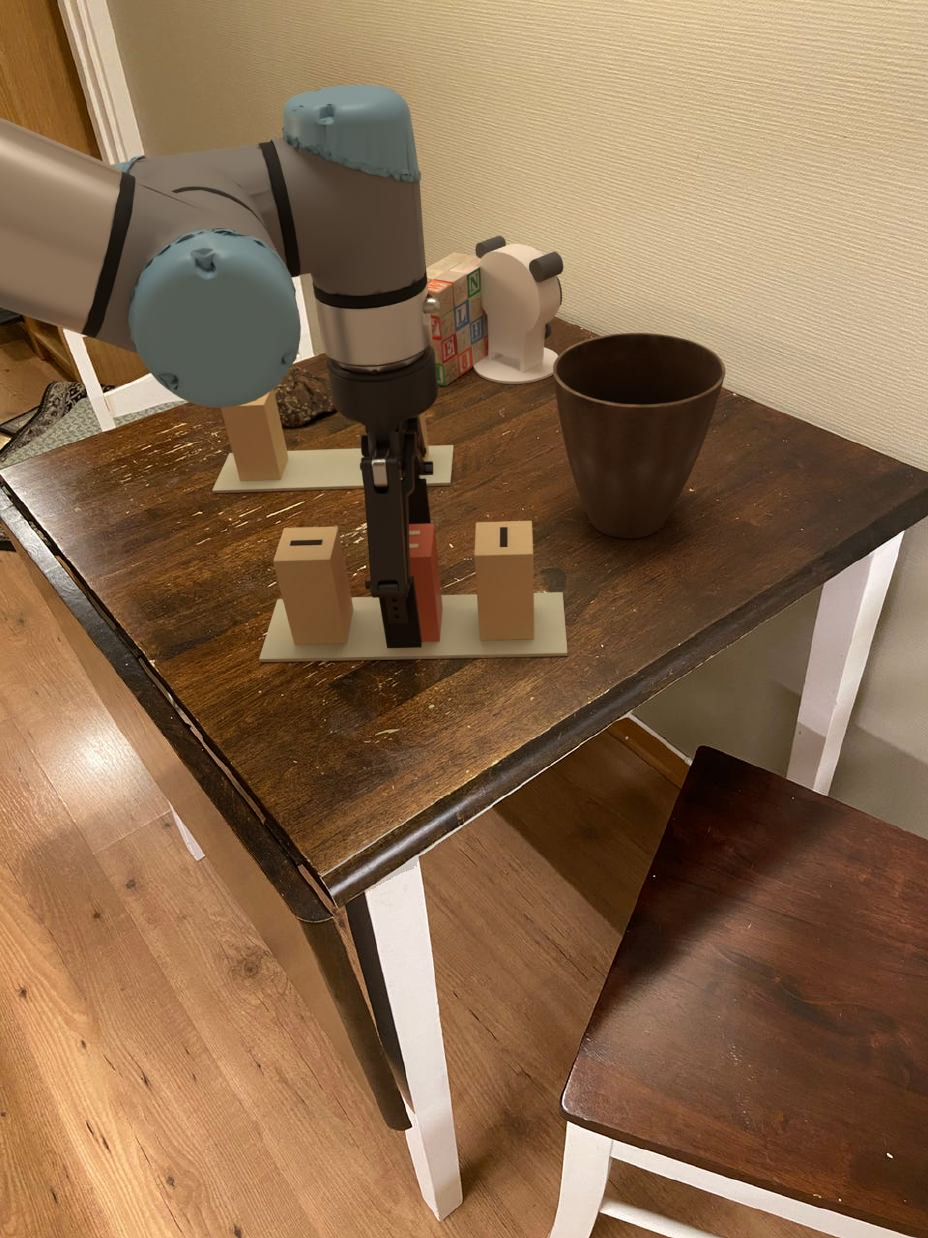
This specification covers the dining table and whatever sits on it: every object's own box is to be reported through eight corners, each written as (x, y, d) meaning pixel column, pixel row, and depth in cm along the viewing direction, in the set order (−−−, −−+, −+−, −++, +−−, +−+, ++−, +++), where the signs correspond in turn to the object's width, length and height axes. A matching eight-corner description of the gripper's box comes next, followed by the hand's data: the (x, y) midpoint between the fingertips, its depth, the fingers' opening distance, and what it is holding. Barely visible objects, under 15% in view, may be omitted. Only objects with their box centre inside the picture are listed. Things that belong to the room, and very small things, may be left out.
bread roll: (220, 414, 110) (210, 376, 107) (289, 375, 117) (282, 339, 114) (294, 439, 104) (285, 400, 101) (362, 396, 111) (356, 359, 108)
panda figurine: (581, 363, 115) (585, 244, 105) (520, 393, 109) (518, 271, 100) (516, 339, 122) (514, 225, 112) (456, 366, 116) (447, 249, 107)
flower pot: (586, 466, 96) (590, 322, 85) (722, 495, 90) (745, 344, 79) (527, 540, 86) (524, 387, 75) (676, 578, 80) (695, 418, 70)
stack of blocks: (495, 318, 128) (492, 230, 120) (532, 326, 125) (531, 235, 117) (406, 377, 115) (395, 282, 107) (445, 387, 112) (437, 290, 104)
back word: (212, 493, 96) (189, 414, 90) (230, 455, 102) (209, 379, 96) (450, 485, 94) (443, 404, 88) (453, 447, 100) (447, 369, 94)
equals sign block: (386, 642, 75) (372, 557, 69) (391, 608, 79) (378, 523, 73) (439, 641, 75) (430, 555, 69) (442, 606, 78) (434, 522, 72)
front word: (259, 662, 75) (234, 574, 69) (278, 602, 81) (256, 516, 75) (567, 656, 73) (569, 565, 67) (562, 595, 79) (564, 506, 73)
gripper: (421, 437, 51) (448, 695, 65) (443, 280, 70) (461, 506, 83) (292, 442, 51) (347, 697, 65) (349, 285, 70) (382, 509, 84)
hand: (411, 590), depth 74 cm, fingers open, 13 cm apart
